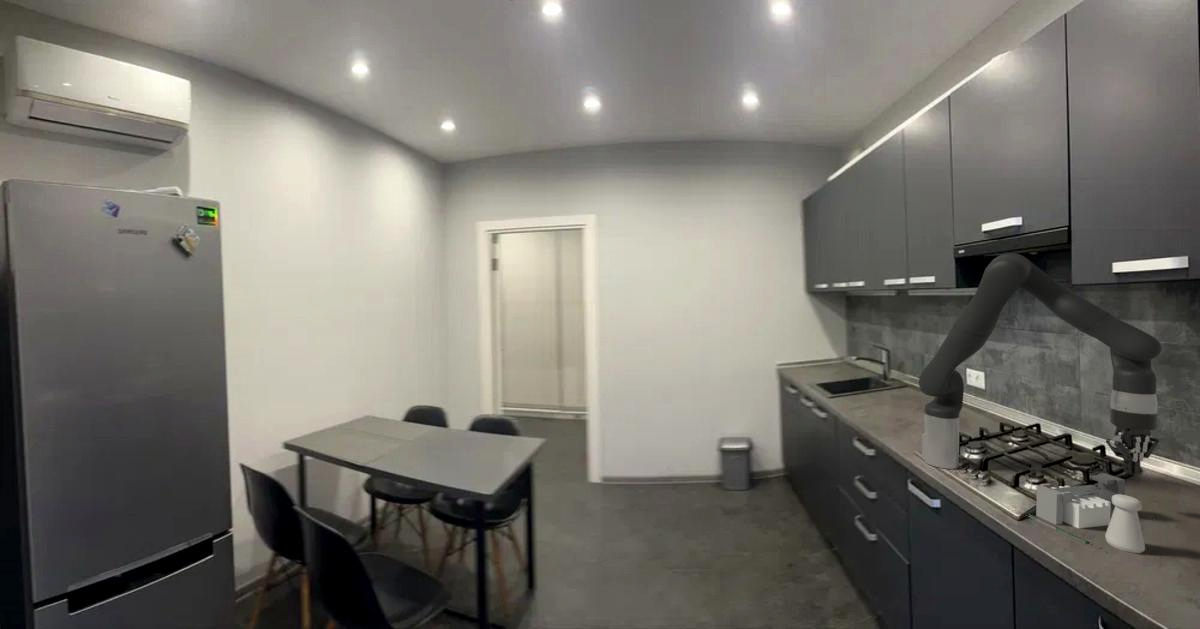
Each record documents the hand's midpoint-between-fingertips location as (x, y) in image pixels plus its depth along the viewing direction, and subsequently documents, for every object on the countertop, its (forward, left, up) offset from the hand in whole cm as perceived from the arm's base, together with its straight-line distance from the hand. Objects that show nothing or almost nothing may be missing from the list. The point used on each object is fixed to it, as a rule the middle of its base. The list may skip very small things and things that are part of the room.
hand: (1131, 473), depth 110 cm
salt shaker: (+12, -20, -12) cm, 26 cm away
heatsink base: (0, -15, -11) cm, 19 cm away
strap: (0, -17, -4) cm, 17 cm away
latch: (0, -7, -10) cm, 12 cm away
